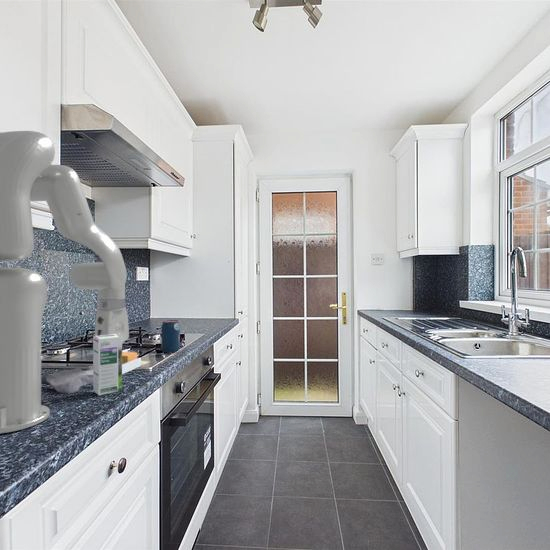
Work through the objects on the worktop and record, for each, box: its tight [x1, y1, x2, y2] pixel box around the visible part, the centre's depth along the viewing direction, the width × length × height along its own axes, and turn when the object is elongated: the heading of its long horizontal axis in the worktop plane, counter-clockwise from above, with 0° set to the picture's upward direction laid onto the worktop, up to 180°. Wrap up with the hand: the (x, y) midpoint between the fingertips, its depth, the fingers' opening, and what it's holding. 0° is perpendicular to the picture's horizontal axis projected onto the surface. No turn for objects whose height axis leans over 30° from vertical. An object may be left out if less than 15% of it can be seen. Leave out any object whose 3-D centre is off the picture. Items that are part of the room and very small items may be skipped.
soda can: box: [160, 319, 181, 354], centre depth 139 cm, size 7×7×12 cm
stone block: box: [46, 367, 93, 394], centre depth 97 cm, size 12×5×10 cm
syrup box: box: [92, 334, 123, 397], centre depth 92 cm, size 6×6×14 cm
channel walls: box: [88, 357, 142, 375], centre depth 108 cm, size 13×9×4 cm, turn 168°
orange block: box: [122, 351, 138, 364], centre depth 113 cm, size 5×5×4 cm
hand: (111, 365), depth 106 cm, fingers closed
